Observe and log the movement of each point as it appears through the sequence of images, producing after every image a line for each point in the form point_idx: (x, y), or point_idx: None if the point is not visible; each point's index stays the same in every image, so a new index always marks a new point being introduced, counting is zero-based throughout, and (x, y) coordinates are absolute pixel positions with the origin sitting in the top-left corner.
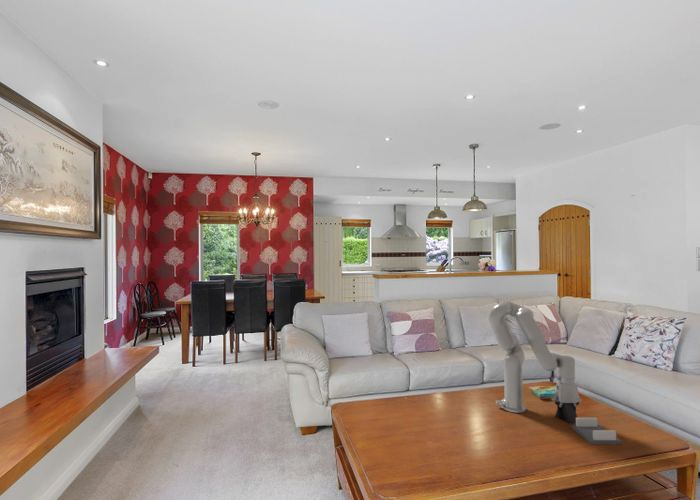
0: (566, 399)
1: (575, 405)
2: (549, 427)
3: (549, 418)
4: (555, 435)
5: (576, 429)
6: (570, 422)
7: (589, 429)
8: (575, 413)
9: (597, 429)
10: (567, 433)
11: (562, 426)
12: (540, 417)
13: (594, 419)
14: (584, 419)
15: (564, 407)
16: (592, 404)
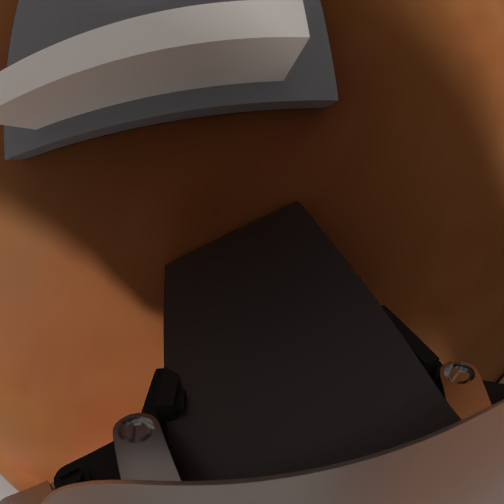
0: (502, 499)
1: (140, 441)
2: (495, 129)
3: (428, 314)
4: (481, 13)
5: (318, 2)
6: (288, 210)
7: (163, 3)
8: (175, 332)
9: (74, 29)
10: (402, 10)
11: (401, 139)
12: (476, 317)
13: (10, 73)
14: (161, 19)
15: (408, 359)
16: (31, 486)
